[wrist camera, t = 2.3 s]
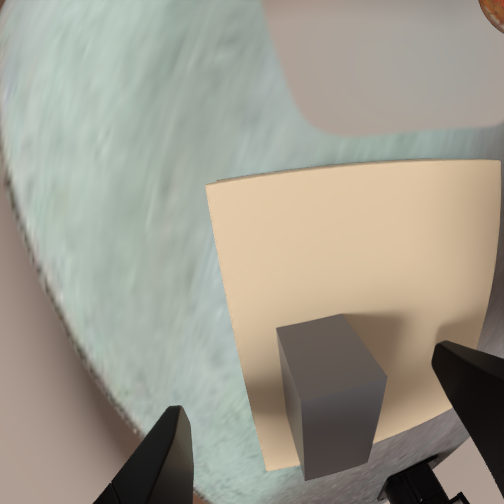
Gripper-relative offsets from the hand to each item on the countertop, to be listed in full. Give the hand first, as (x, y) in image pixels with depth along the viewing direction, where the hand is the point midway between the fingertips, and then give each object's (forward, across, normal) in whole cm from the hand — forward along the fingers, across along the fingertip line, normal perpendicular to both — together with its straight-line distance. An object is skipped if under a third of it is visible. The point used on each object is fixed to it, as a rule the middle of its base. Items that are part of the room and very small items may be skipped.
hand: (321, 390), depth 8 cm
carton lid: (+2, -3, 0) cm, 3 cm away
